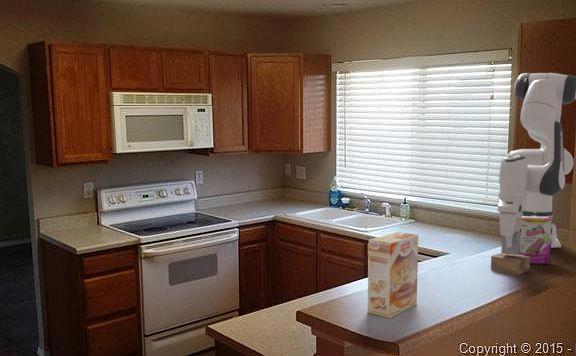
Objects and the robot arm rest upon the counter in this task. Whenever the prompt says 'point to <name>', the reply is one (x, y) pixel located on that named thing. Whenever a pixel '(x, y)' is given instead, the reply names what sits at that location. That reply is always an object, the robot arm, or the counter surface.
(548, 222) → the candy bar box
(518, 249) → the grey plastic block
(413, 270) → the coffeecake box
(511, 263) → the tan block
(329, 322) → the counter surface
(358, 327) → the counter surface
